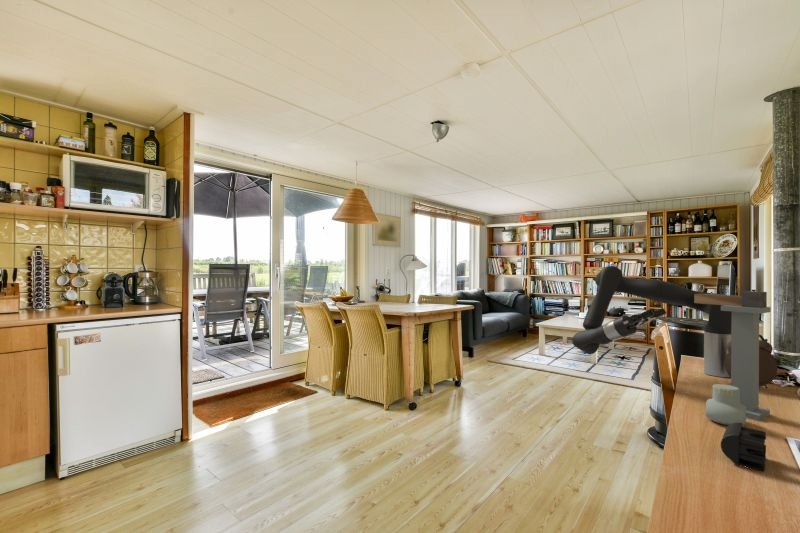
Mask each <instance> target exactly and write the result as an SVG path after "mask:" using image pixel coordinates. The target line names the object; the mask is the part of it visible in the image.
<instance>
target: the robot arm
mask: <svg viewBox="0 0 800 533" xmlns="http://www.w3.org/2000/svg"><path fill="white" fill-rule="evenodd" d="M594 282H595V284H596V286H597V288H598V289H597V291H596V294H595V295H594V298H593V300H592V302H591V304H590V305H589V307H588V309H587V311H586V313H585V317H584V320H583V322H582V327H583V329H584V330H581V331H578V332H576V333H575V334H574V335H572V339H571V342H572V344H573V347H575V348H577V349H579V350H580V351H581V352H584V353H585V354H587V355H593V354H595V353H596V352H598V350H599V348H600V345H603V346H605V345H607V344H610V343H612V342H614V341H618V340H621V339H624V338H626V337H628V336H629V337H630V336H631V335H633V334H636V333H637V331H638V327H641V326H644V325H646V324H648V323H651V322H653V321H656V320H658V319H659V318H660V317H661V316H664V315H666V314H667V311H666V309H665V308H662V307H661V308H660V309H657V310H655V311H653V309H652V308H651V309H648V310H645V311H643V312H639V313H634V314H632V315H631V316H629V315H626V314H623V315H621V316H619V317H617V318H614V319H612V320H610V321H608V322H606V323H605V324H603V323H604V320H605V318H606V314H607V312H608V309H609V305H610V304H611V301H612V299H613V296H614V295H615V292H616V293H621V294H622V293H623V294H627V295H632V296H635V297H637V298H638V297H640V298H643V299H645V300H650V301H653V302H656V303H658V302H659V303H662V304H667V305H673V306H680V307H686V308H691V309H694V310H698V311H699V312H702V313H706V314H708V319H707V320H708V321H707V323H705V324H704V327H703V373H704V374H706V375H709V376H714V377H721V378H731V376H730V375H729V374H728V373H727V371H726V369H725V358H726V355H727V354H728V349H727V344H728V343H729V342H730V341H731V325H732V311H721V306H722V305H714V304H700V303H694V294H714V295H725V294H723V293H713V292H704V291H703V292H702V291H697V290H692V289H689V288H687V287H684V286H682V285H679V284H676V283H673V282H670V281H667V280H663V279H655V278H632V277H627V276H624V275H623V272H622V270H621V269H620V268H619V267H617V266H614V265H608V266H607V265H606V266H605V267H604V268H602V269H601V270H599V272H598V273H597V274H596V275H595V277H594Z"/></svg>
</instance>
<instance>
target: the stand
mask: <svg viewBox="0 0 800 533" xmlns="http://www.w3.org/2000/svg"><path fill="white" fill-rule="evenodd" d="M771 310H772V309H771V306H767V307H764V308H752V307H742V306H729V305H722V306H721V311H732V325H731V377H730V386H734V387H737V388H739V389H740V404H742V405H744V406H745V407H746V419H749V420H753V421H754V420H755V421H759V422H760V421H762V420H763V419H765V418H767V417H768V416H770V415H771V409H767V408H763V407H760V406H759V405H760V404H759V403H760V400H759V398H760V397H759V396H760V395H759V394H760V393H759V392H760V387H759V340H760V337H759V334H760V314H767V313H771Z"/></svg>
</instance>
